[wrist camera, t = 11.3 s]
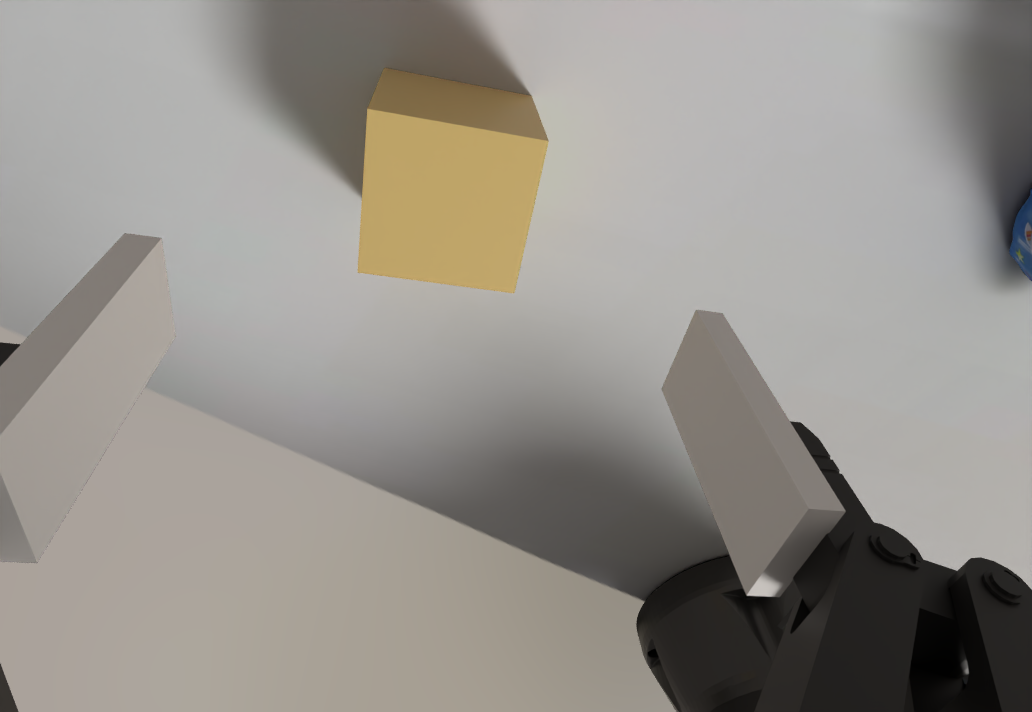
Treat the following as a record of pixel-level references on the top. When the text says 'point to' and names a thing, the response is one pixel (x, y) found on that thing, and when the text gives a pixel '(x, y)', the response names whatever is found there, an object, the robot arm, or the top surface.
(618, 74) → the top surface
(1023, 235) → the snack cup
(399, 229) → the ochre brick
